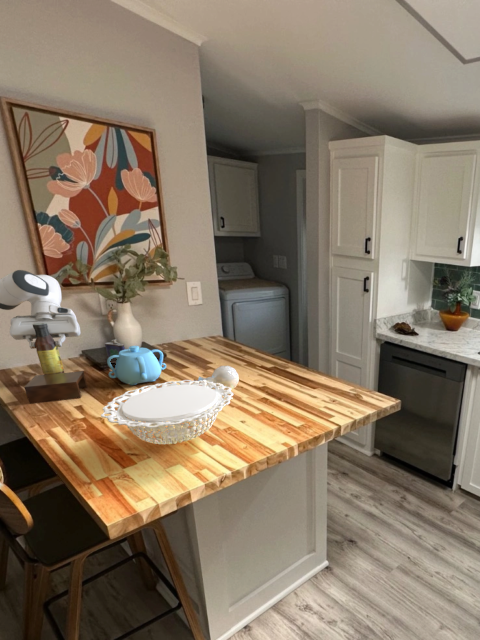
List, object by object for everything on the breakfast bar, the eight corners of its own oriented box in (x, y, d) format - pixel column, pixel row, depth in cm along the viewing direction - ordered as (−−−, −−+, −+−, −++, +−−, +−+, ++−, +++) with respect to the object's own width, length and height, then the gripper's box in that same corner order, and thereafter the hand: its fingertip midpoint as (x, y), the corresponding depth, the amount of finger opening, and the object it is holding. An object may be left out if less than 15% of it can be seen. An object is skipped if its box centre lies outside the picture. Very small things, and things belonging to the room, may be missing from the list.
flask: (107, 363, 175) (102, 339, 171) (113, 361, 178) (108, 337, 174) (125, 366, 173) (119, 341, 169) (130, 364, 176) (125, 339, 172)
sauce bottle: (68, 375, 154) (55, 323, 147) (49, 380, 149) (34, 326, 142) (60, 372, 157) (46, 320, 150) (40, 376, 152) (25, 323, 145)
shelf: (29, 403, 135) (24, 387, 133) (40, 391, 145) (35, 375, 143) (80, 398, 141) (76, 381, 138) (87, 386, 151) (83, 371, 149)
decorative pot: (105, 385, 152) (96, 350, 147) (137, 371, 167) (130, 339, 162) (143, 389, 150) (136, 354, 145) (173, 375, 165) (167, 342, 159)
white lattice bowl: (206, 408, 136) (200, 372, 132) (260, 440, 118) (256, 399, 113) (94, 442, 113) (83, 400, 109) (140, 488, 95) (128, 440, 90)
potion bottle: (243, 391, 155) (203, 404, 147) (231, 371, 158) (191, 384, 149) (244, 376, 148) (203, 390, 140) (232, 357, 151) (191, 369, 142)
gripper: (6, 311, 146) (5, 344, 141) (76, 309, 154) (76, 340, 150) (14, 321, 151) (13, 353, 147) (81, 318, 160) (82, 349, 155)
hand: (46, 347), depth 148 cm, fingers closed on sauce bottle, 6 cm apart
